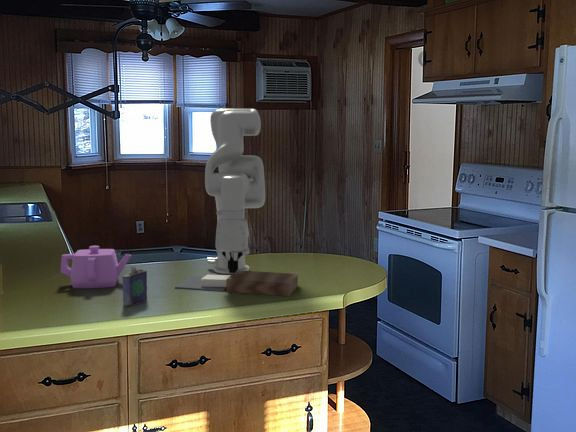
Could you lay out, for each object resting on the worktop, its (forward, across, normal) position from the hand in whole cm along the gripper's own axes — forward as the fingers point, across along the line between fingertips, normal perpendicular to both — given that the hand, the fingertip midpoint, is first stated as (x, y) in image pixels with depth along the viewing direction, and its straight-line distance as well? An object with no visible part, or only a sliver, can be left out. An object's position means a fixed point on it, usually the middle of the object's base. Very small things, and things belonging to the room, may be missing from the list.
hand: (233, 271), depth 210 cm
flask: (+5, -22, -24) cm, 33 cm away
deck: (+5, +10, 0) cm, 11 cm away
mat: (+5, -9, +1) cm, 10 cm away
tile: (+4, -5, -1) cm, 6 cm away
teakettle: (+5, -44, -6) cm, 45 cm away
